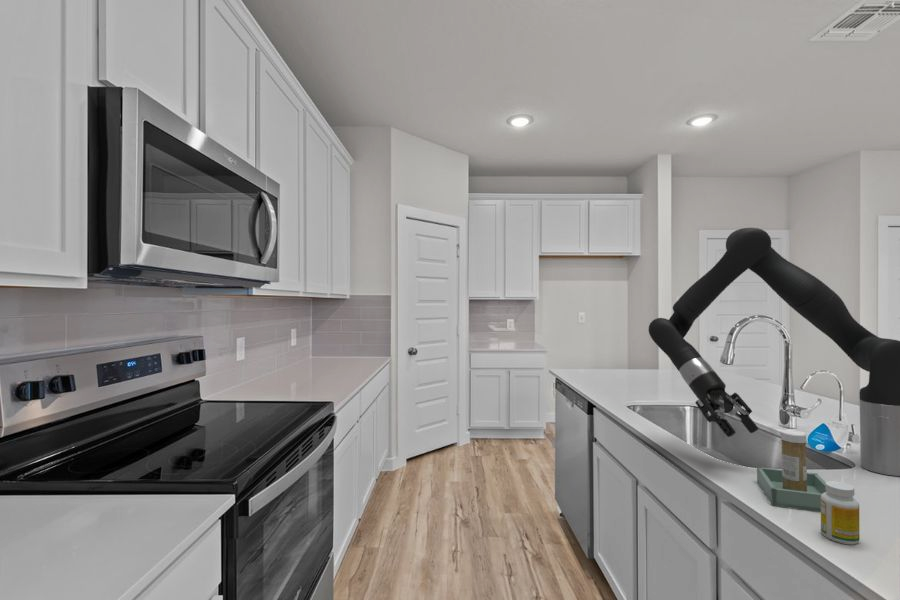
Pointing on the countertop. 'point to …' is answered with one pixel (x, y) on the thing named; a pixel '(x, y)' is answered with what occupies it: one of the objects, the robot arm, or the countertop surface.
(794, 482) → the amber pill bottle
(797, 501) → the bin
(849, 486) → the supplement bottle
